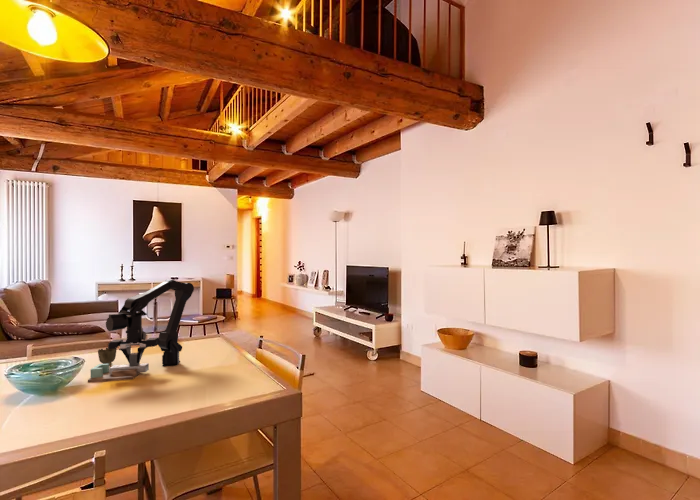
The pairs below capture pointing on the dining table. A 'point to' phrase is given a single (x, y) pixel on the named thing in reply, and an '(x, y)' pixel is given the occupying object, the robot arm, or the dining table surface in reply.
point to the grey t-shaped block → (131, 365)
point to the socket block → (99, 370)
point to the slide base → (116, 375)
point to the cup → (107, 356)
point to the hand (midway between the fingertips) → (134, 363)
